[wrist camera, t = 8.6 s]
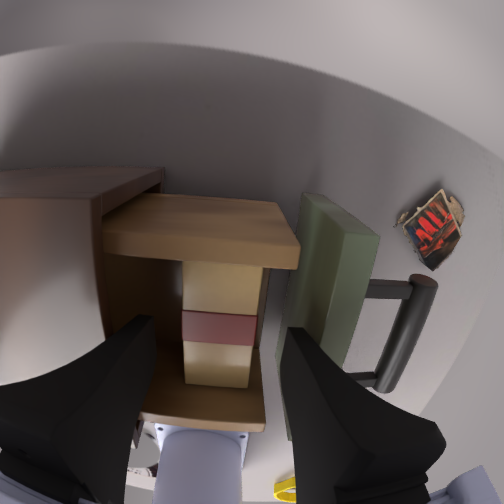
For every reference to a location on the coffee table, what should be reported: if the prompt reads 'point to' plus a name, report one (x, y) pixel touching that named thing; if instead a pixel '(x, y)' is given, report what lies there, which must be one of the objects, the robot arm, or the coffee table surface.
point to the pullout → (268, 256)
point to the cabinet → (58, 263)
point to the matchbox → (434, 229)
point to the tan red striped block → (219, 322)
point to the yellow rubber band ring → (282, 487)
